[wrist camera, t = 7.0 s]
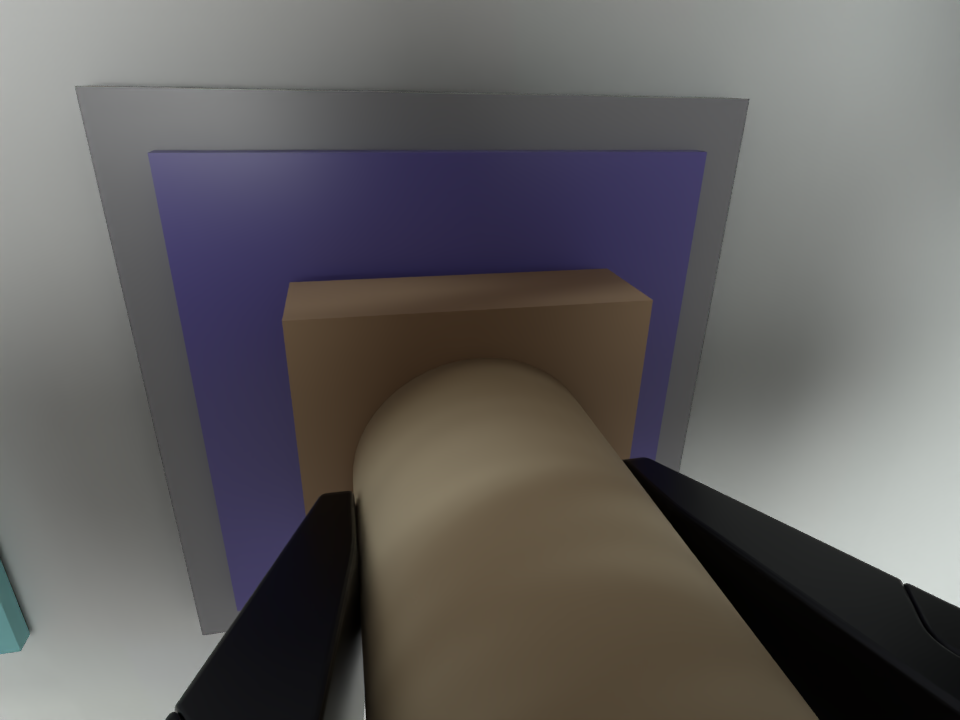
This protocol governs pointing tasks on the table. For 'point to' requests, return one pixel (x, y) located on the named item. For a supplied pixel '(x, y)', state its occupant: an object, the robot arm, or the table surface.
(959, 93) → the table surface
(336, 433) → the stamp
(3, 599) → the teal flat square frame
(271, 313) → the ink pad
